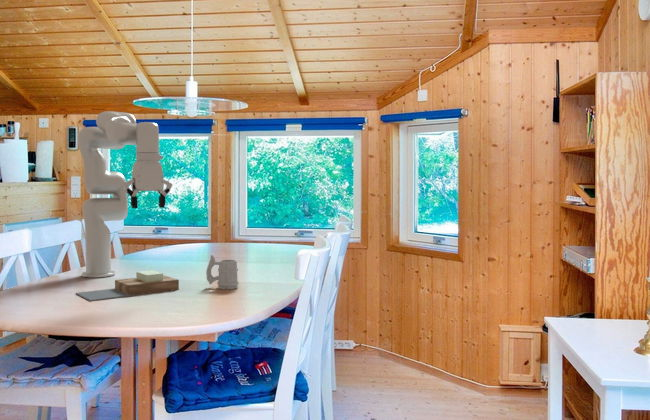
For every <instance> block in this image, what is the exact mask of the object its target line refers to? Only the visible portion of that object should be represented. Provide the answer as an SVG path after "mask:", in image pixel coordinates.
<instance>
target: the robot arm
mask: <svg viewBox="0 0 650 420" xmlns="http://www.w3.org/2000/svg"><path fill="white" fill-rule="evenodd" d="M95 122H96V123H95V124H96V126H86V127H83V128H81V129H80V131H79V132H78V134H77V135H78V136H77V144H78V145H77V146H78V149H79V151H80V154H81V157H82V158H81V159H82V162H83V175H84V176H83V177H84V188H85V191H86V192H87V193H88V194H90V195H98V196H99V195H104V196H105V195H111V196H112V197H92V198H91V197H90V198H88V199H86V200H84V201H83V204H82V205H81V207H82V208H81V210H82V216H83V217H82V218H83V221H84V236H85V237H84V238H85V242H84V243H85V271H84V272H81V277H83V278H92V279H93V278H95V279H96V278H107V277H112V276H115V274H116V272H115V271H114V270H112V266H111V265H112V262H111V261H112V260H111V258H112V257H111V254H112V253H111V251H112V250H111V249H112V248H111V247H112V245H111V231H110V228H109V227H108V225H106V223H105V222H115V221H122V220H125V219H126V218H127V217H128V213H129V208H128V207H129V205H128V204H129V203H128V202H129V201H128V196H129V197H130V206H131V208H132V209H138V197H137V195H138V194H139V193H140V192H157V193H158V195H159V196H158V208H160V209H161V208H163V209H164V208H165V206H166V197H167V195H168V193H170V192H171V189H172V187H173V183H172V182H170V181H168V180H166V179H164V172H163V167H162V163H161V162H160V161H161V160H163V158H164V156H163V155H161V154H160V140H159V139H160V137H159V134H160V133H159V132H160V129H159V125H158V124H157V122H156V123H155V122H150V121H149V122H148V121H144V122H142V121H141V122H138V123H137V120H136V118H135V116H134V115H133V114H131V113H130V112H129V113H128V112H124V111H123V112H122V111H121V112H120V111H113V110H111V111H109V110H108V111H107V110H106V111H102V112H100V113H99V114H98V115H97V117H96V119H95ZM126 145H129V146H130V145H131V146H136V147H135V149H136V150H135V151H136V152H135V155H136V156H135V157H136V158H135V159H136V161H134V162H133V166H132V170H131V171H132V172H131V179H129V180H128V181H127V180H126V177H125V176H124V175H123V173H121V172H119V171H108V170H107V160H106V158H105V156H104V155H103V154H102V152H100V150H99V149H104V150H120V149H123V148H124V147H125V146H126ZM130 185H131V189H130ZM164 185H165V186H166V187H165V189H164Z"/></svg>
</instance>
